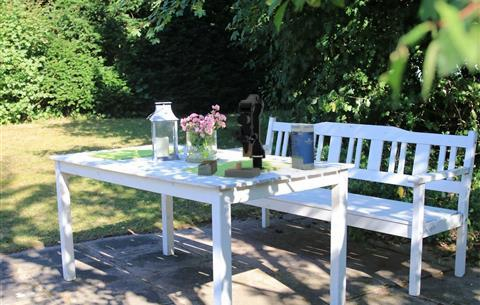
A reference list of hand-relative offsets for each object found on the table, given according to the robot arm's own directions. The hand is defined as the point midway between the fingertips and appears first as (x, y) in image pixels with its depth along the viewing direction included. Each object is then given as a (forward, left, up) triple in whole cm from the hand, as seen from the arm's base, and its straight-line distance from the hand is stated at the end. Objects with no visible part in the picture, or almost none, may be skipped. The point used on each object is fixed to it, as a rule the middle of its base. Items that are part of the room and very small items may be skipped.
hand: (247, 153), depth 308 cm
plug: (0, 0, -2) cm, 2 cm away
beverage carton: (-3, -25, -13) cm, 29 cm away
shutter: (+1, -7, -9) cm, 11 cm away
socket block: (+1, -3, -12) cm, 13 cm away
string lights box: (-33, +21, -13) cm, 41 cm away
